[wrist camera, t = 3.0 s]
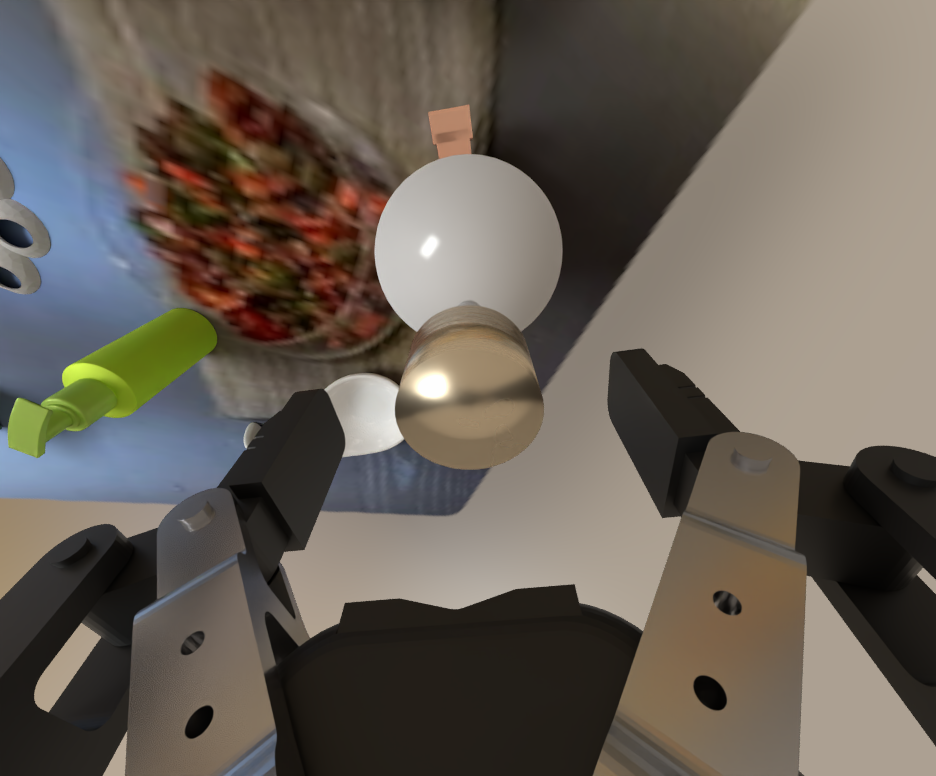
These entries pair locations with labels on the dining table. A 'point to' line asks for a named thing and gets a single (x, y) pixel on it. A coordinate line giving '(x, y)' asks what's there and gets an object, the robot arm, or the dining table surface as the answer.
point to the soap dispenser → (114, 379)
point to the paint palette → (17, 257)
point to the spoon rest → (360, 413)
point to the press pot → (467, 234)
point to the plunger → (469, 390)
